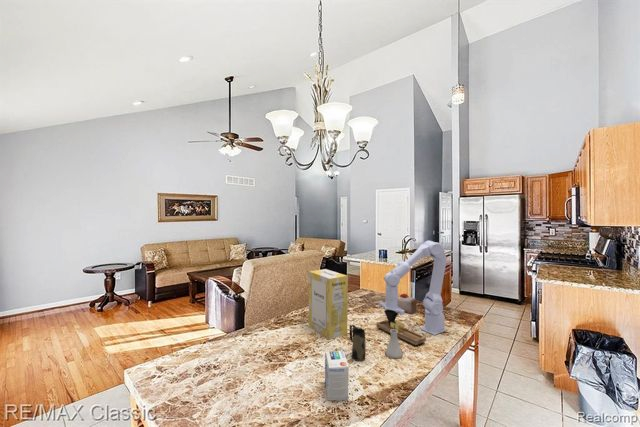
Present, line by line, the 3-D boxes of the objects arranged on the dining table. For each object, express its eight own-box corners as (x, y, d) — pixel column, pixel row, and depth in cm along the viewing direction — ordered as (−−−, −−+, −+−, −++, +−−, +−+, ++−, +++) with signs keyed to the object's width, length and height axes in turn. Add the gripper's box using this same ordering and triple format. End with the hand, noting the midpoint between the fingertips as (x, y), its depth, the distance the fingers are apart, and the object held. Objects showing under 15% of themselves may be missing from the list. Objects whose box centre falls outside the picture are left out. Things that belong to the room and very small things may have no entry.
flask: (403, 360, 116) (403, 335, 116) (384, 358, 118) (385, 333, 117) (402, 351, 123) (402, 327, 123) (384, 349, 125) (384, 326, 125)
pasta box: (308, 325, 149) (308, 271, 149) (325, 321, 155) (325, 269, 155) (329, 339, 134) (329, 278, 134) (347, 333, 140) (347, 275, 140)
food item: (390, 309, 175) (390, 292, 175) (397, 306, 180) (398, 290, 180) (411, 315, 165) (411, 297, 165) (418, 311, 170) (418, 295, 170)
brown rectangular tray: (386, 325, 151) (386, 319, 151) (426, 343, 131) (426, 336, 131) (375, 328, 146) (375, 322, 146) (414, 347, 126) (414, 341, 126)
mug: (368, 359, 117) (368, 329, 117) (357, 363, 114) (358, 332, 114) (355, 350, 124) (355, 322, 123) (345, 354, 120) (345, 325, 120)
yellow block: (396, 327, 143) (396, 320, 143) (404, 331, 139) (404, 323, 139) (390, 329, 141) (390, 322, 141) (398, 333, 136) (398, 325, 136)
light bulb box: (324, 381, 102) (324, 350, 102) (343, 380, 102) (343, 350, 102) (327, 401, 91) (327, 367, 91) (349, 400, 92) (349, 366, 92)
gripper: (375, 295, 146) (374, 321, 147) (397, 302, 134) (397, 332, 135) (385, 292, 150) (384, 318, 151) (407, 300, 138) (407, 328, 138)
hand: (391, 325), depth 143 cm, fingers closed
